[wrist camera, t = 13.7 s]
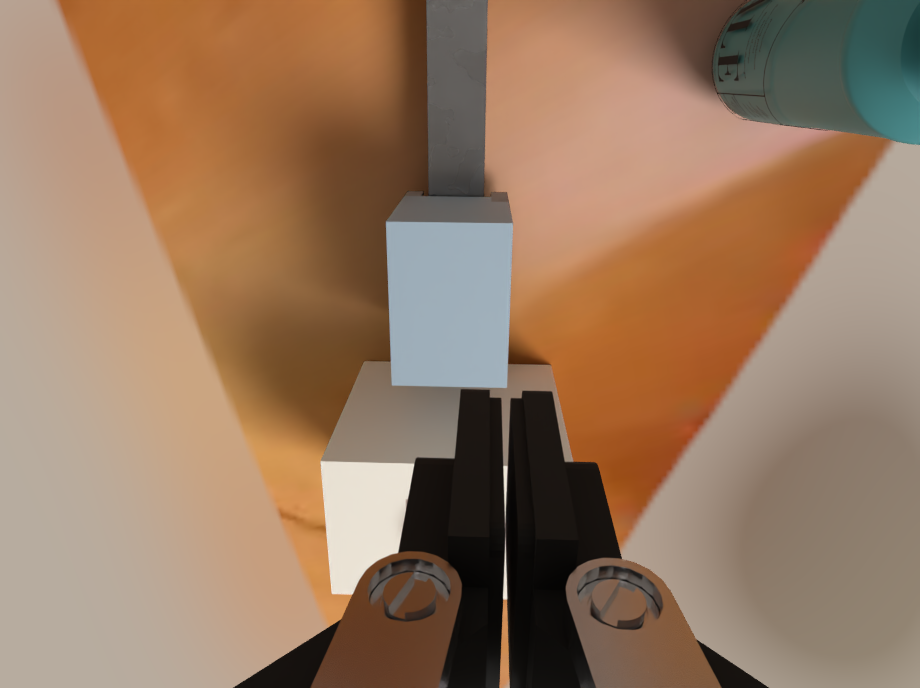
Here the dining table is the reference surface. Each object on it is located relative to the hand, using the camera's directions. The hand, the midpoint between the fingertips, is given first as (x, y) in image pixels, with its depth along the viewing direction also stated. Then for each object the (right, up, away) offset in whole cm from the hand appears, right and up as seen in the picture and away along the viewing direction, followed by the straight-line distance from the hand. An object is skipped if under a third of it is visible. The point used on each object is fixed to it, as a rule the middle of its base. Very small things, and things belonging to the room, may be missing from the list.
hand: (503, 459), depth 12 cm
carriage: (-1, +7, +26) cm, 27 cm away
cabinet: (-1, -3, +31) cm, 32 cm away
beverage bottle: (+15, +17, +23) cm, 32 cm away
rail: (-1, +12, +25) cm, 28 cm away
